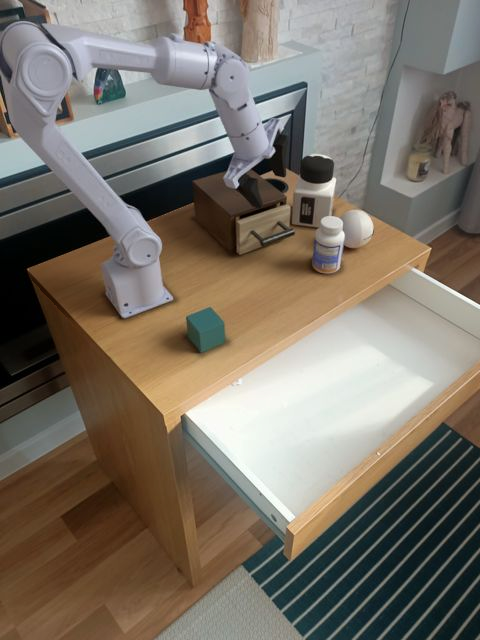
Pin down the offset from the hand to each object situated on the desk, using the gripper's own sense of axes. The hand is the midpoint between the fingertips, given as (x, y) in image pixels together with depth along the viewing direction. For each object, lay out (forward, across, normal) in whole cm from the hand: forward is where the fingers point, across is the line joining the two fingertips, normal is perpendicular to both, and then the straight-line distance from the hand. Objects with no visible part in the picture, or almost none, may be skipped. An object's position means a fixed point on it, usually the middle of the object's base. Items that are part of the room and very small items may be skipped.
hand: (269, 190), depth 97 cm
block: (+5, -28, -4) cm, 29 cm away
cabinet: (+13, 0, +13) cm, 18 cm away
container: (+19, +11, +3) cm, 22 cm away
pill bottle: (+16, -1, -8) cm, 18 cm away
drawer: (+12, -1, +8) cm, 15 cm away
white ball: (+20, +9, -8) cm, 23 cm away
